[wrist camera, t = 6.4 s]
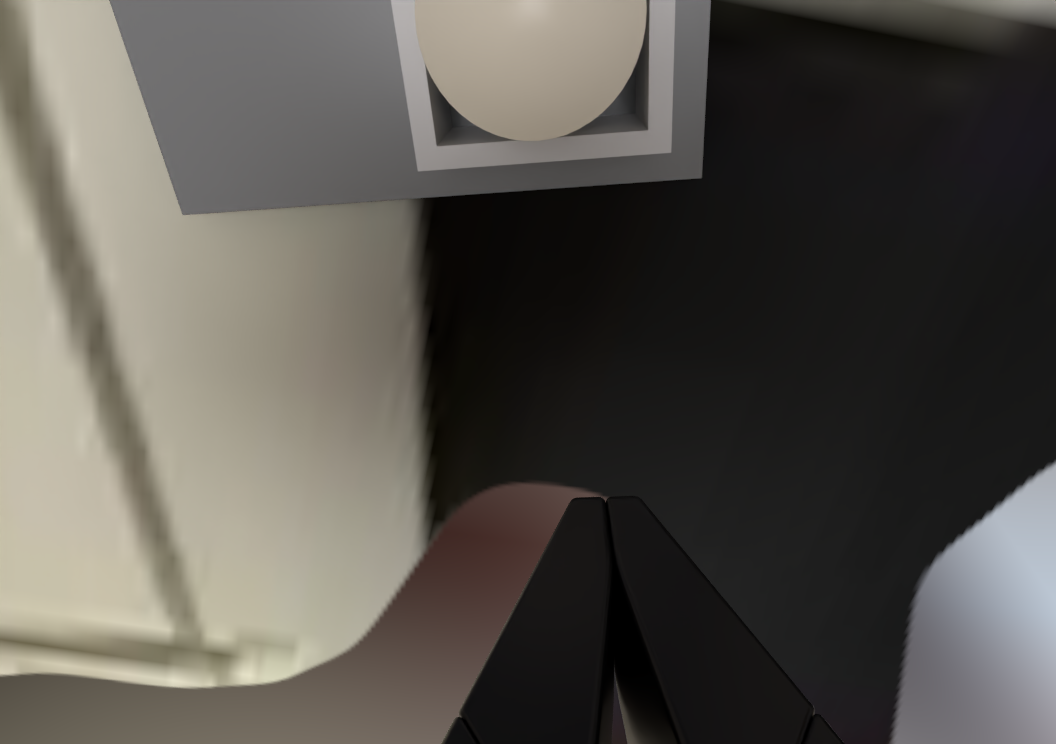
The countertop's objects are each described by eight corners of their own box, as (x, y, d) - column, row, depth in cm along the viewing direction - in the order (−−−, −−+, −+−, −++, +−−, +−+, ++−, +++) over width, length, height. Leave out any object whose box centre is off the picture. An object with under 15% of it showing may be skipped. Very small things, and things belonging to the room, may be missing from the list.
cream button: (628, -108, 13) (648, -137, 10) (629, 109, 15) (645, 132, 12) (428, -88, 13) (395, -111, 10) (454, 123, 15) (433, 148, 12)
